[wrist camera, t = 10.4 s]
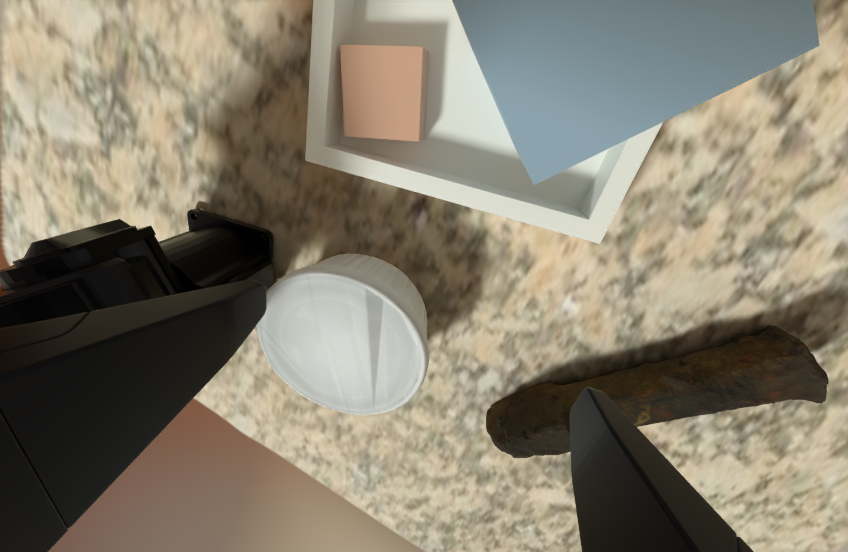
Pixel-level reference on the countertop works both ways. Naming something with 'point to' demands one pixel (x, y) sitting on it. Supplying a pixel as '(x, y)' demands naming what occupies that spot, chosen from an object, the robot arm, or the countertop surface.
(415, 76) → the terracotta tile
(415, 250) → the countertop surface
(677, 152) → the countertop surface
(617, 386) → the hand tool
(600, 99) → the blue block
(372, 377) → the ramekin
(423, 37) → the tray
